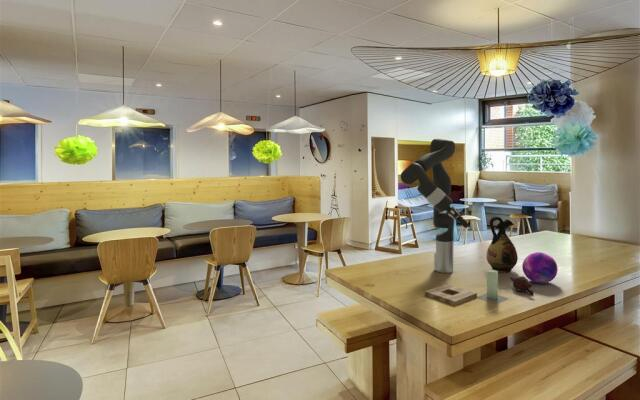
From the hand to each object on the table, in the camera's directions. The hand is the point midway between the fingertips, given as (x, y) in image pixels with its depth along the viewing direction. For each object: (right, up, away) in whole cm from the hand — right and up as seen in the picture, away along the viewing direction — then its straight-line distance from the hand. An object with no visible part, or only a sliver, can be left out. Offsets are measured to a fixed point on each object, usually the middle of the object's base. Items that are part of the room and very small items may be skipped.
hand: (465, 225), depth 168 cm
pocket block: (-5, -33, +4) cm, 33 cm away
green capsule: (+12, -32, 0) cm, 34 cm away
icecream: (+29, -31, +10) cm, 44 cm away
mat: (+12, -33, 0) cm, 35 cm away
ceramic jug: (+35, -28, +42) cm, 61 cm away
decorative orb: (+44, -30, +20) cm, 57 cm away
